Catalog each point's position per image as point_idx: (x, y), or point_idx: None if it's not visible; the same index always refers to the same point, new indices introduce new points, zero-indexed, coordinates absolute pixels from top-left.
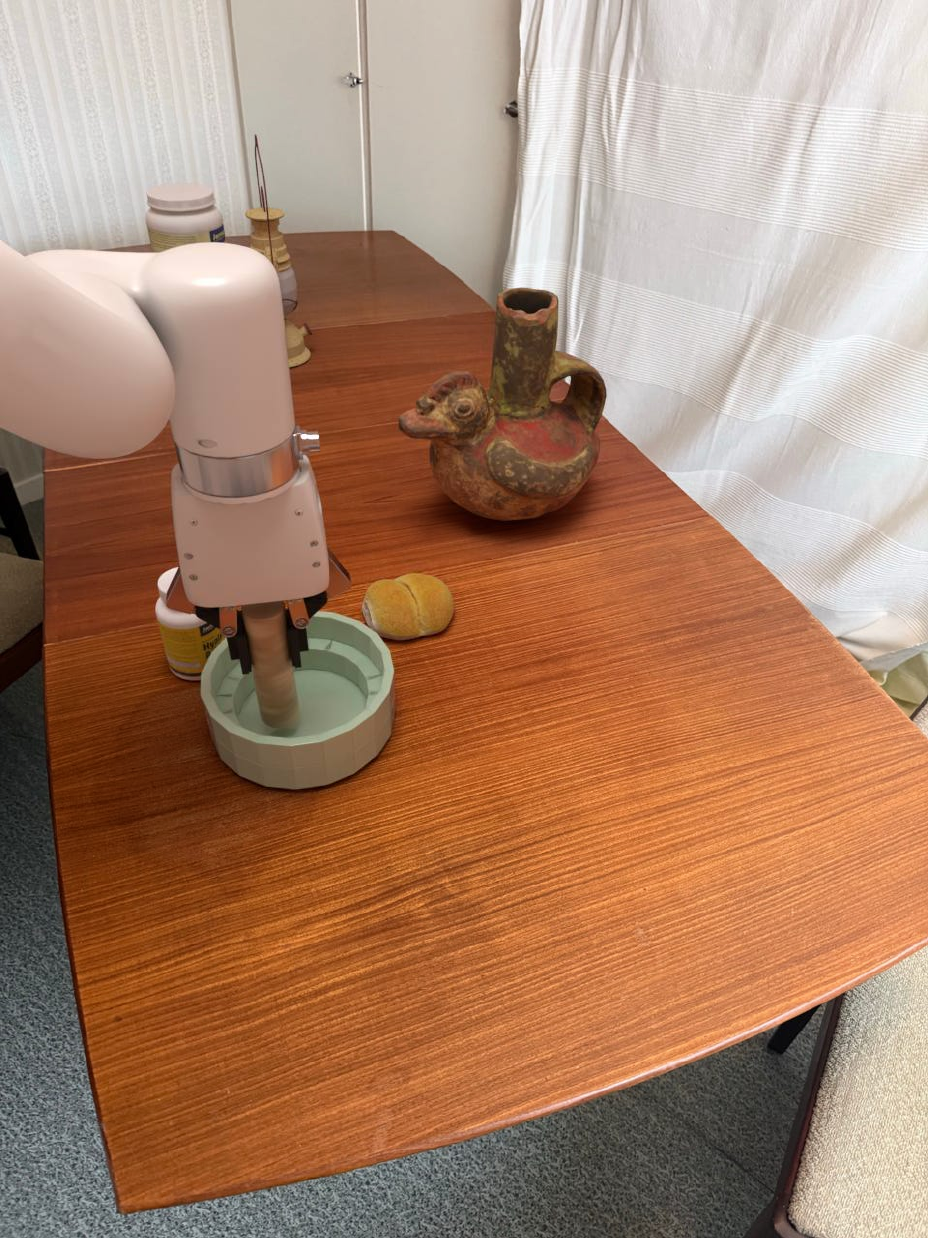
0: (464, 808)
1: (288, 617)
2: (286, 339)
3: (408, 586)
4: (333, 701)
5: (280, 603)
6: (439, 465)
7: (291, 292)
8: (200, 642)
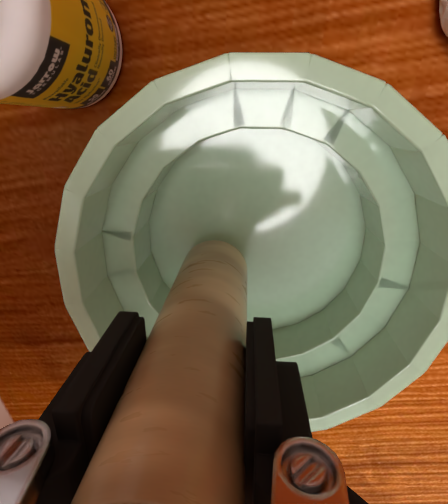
0: (426, 411)
1: (252, 466)
2: None
3: None
4: (307, 219)
5: None
6: None
7: None
8: (38, 101)
